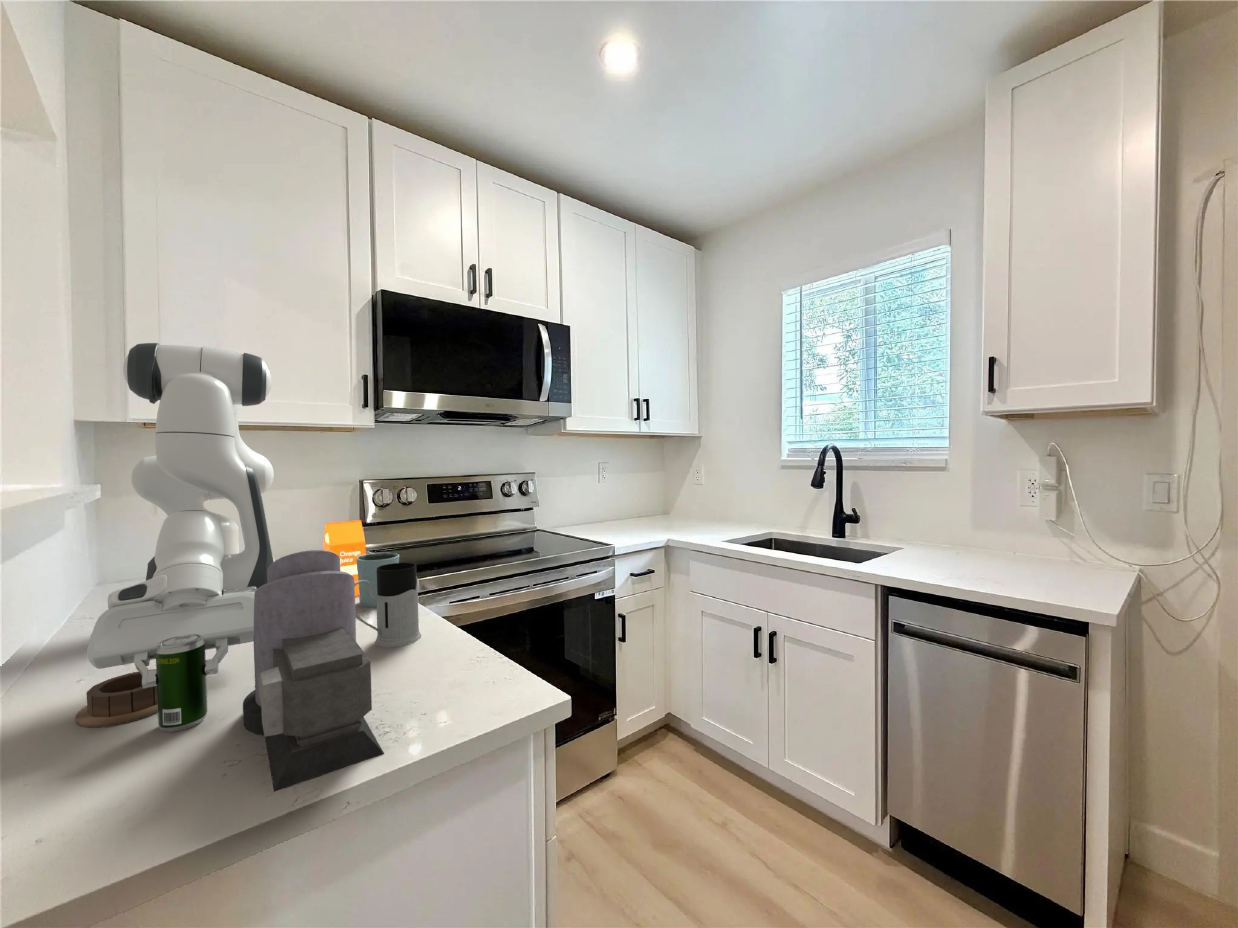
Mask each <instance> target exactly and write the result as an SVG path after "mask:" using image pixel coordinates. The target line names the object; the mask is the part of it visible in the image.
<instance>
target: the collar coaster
mask: <svg viewBox="0 0 1238 928" xmlns="http://www.w3.org/2000/svg"><path fill="white" fill-rule="evenodd" d="M155 669H156V668H153V669H151V670H155ZM156 714H158V700H157V686H153V687H148V688H143V686H142V675H141V674H140V672H139V671H138V670H137V671H133V672H129V673H125V674H122V675H118V676H115V677H112V678H109V679H106V680H104V681H102V682H99V683H97V684H95V685H92V687H90V688H89V689H88V690H87V691H86V706H83V707H82V708H81V709H80V710H79V711H77V712H76V714H75V721H76V725H77V726H79V727H83V728H104V727H103V726H106V727H112V726H117V725H123V724H127V723H131V722H135V721H138V720H141V719H145V718H147V717H151V716H153V715H156Z"/></svg>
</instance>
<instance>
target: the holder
mask: <svg viewBox="0 0 1238 928" xmlns="http://www.w3.org/2000/svg"><path fill="white" fill-rule="evenodd" d="M418 581H419V580H418V576H417V564H416V563H414V562H399V563H393V564H386V565H382V566H379V567H377V593H376V597H374V596H373V588H372V585H371V584H370V583H369V582H368V581H366V580H360V581H357V582H356V583H354V585H355V586H356V585H357V584H359V583H361V582H365V583H367V584H368V586H369V589H370V596H371V598H373V599H376V601H377V607H376V626H377V627H376V626H374V625H372V624H370V623H368V622H367V621H365V620H364V619H363V618H362V617H360V615H359V614H358V613H357V611H356V609H355V618H356V620H358V621H359V622H360V623H363V624H364V625H366V626H368V627H370V628H371V629H373V630H375V631H377V633H376V634H377V635H376V638H375V641H374V644H375V645H376V644H377V645H376V646H378V645H379V646H378V647H382V648H383V647H384V648H393V647H394V648H395V647H401V646H400V645H402V646H406V644H407V645H410V644H413V643H415V642H417V641H419V640H420V639H421V638H422V634H421V632H420V627H419V623H420V621H419V592H418V591H419V590H418V589H419V588H418V587H419V586H418ZM418 639H419V640H418ZM412 642H413V643H412Z"/></svg>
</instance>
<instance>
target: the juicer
mask: <svg viewBox="0 0 1238 928" xmlns="http://www.w3.org/2000/svg"><path fill="white" fill-rule="evenodd" d="M355 610H356V596H355V585H354V577H353V576H352V575H351V574H349V573H347V572H343V571H341V569H340V557H339V556H338V555H337V554H336V553H334V552H331V551H326V550H324V549H314V550H313V549H311V550H310V549H309V550H303V551H298V552H294V553H293V552H292V553H291V554H287V555H285V556H282V557H280V558H278V559H275V561H274V562H273V563H272V564H271V565H270V566H269V567H268V569H267V583H266V584H264V585H262V586H261V587H259V588H258V589H257V590H256V591H255V594H254V636H253V659H254V660H253V662H254V663H253V665H254V666H253V668H254V690H252V691H250V693H248V694H247V695H246V696H245V698H244V699H243V702H242V714H243V715H242V718H243V719H242V721H243V723H242V724H243V727H244V728H245V730H246V731H248V732H249V733H251V734H254V735H258V736H264V738H265V746H266V752H267V758H268V763H269V769H270V775H271V781H272V787H273V792H274V793H275V792H278V791H281V790H284V789H287V788H290V787H293V786H296V785H299V784H302V783H305V782H306V781H307V782H308V781H310V780H312V779H315V778H316V779H317V778H319V777H321V776H324V775H328V774H331V773H333V772H336V771H339V770H343V769H345V768H348V767H351V766H354V765H357V764H359V763H362V762H365V761H369V760H371V759H374V758H378V757H379V756H383V755H385V752H384V750H383V749H382V746H381V745H380V744H379V742H378V740H377V738H376V736H375V734H374V733H373V731H372V729H371V727H370V726H369V724H368V722H367V720H366V718H365V716H366V715H367V714H369V713H370V712H371V711H372V710H373V709H372V708H373V706H372V704H373V703H372V701H373V700H372V670H371V668H372V666H371V665H372V664H371V663H372V662H371V659H370V658H369V656H368V655H367V654H366V653H365V651H364V650H363V649H362V647H360V645H359V644H358V642H357V627H356V625H357V621H356V620H357V618H356V616H355Z"/></svg>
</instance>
